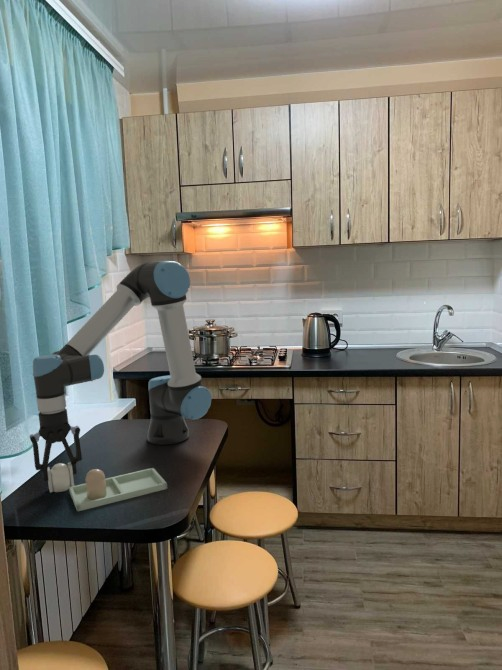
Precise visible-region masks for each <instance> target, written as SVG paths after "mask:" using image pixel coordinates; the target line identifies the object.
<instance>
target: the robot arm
mask: <svg viewBox="0 0 502 670" xmlns="http://www.w3.org/2000/svg"><path fill="white" fill-rule="evenodd" d="M190 285H191V277H190V274H189V272H188V270H187V268H185V266H184V265H182V264H181V263H179V262H177V261H173V260H161V261H147V262H142V263H141V264H139V265H137V266H136V267H135V268H133V270H131V271H130V272H129V273H128V274H127V275H126V276H125V277H124V278H123V279H122V280H121V281H120V282H119V283H118V284H117V285H116V291H115V292H113V294H111V296H110V297H109V298H108V299H107V300H106V301H105V302H104V303H103V305H101V307H100V308H98V310H97V311H96V312H95V313H94V314H93V315H92V316H91V317H89V319H88V320H87V322H85V324H84V325H83V326H82V327H81V328H80V329H79V330H78V331H77V332H76V333H75V334H74V335H73V336H72V337H71V338H70V340H68V342H67V343H65V345H63V346H62V348H61V349H60V350H57V351H53V352H51V353H50V354H44V355H39V356H36V357H34V358H33V360H32V375H33V381H34V387H35V395H36V396H35V397H36V404H37V405H36V406H37V411H38V421H39V422H38V423H39V429H38V432H36V433H34V434H30V435H29V439H30V441H31V444H32V451H33V461H34V467H35V471H41V472H42V478H43V480H44V482H47V483H48V490H49V493H50V494H51V493H53V492H54V491H53V488H52V480H51V469H50V468H51V467H50V466H49V461H50V456H51V448H52V446H53V445H52V444H55V443H61V442H62V445H63V448H64V450H65V452H66V455H67V456H68V459H69V461H70V462H67V466H68V468H69V471H70V480H71V487H72V486H75V482H74V481H75V480H74V475H77V471H78V470H77V463H78V462H81V461H82V460H83V457H82V456H83V455H82V450H81V442H80V440H81V439H80V432H81V428H80V426H79V425H75V426H73V425H72V426H71V424H70V423H69V418H68V408H67V409H66V407H67V400H66V398H67V397H66V391H65V389H66V388H65V387H70V386H72V385H73V386H74V385H78V384H82V383H89V382H93V381H96V380H99V379H101V378H102V377H103V375H104V373H105V367H104V366H105V365H104V361H103V359H102V357H101V356H99V355H98V354H91V353H92V352H93V351H95V349H96V348H97V347H98V346H99V345H100V343H101V342H102V341H103V340H104V339H105V338H106V337H107V336H108V335H109V333H111V331H112V330H113V329H114V328H115V327H116V326H117V325H118V324H119V323H120V322H121V320H123V318H125V316H126V315H127V314H129V312H130V311H131V310H132V308H133V307H135V306H136V307H138V306H140V304H141V303H142V302H143V301H145V300H147V299H148V298H149V300H150V305H151V306H152V307H153V308H154V309H156V311H157V315H158V320H159V325H160V330H161V335H162V339H163V344H164V345H163V346H164V349H165V355H166V360H167V365H168V370H169V375H162V376H161V375H160V376H157V377H153V378H151V379H149V381H148V386H147V387H148V389H147V391H148V399H149V411H150V422H149V426H148V430H147V434H146V435H147V436H146V437H147V442H149V443H150V444H153V445H159V446H160V445H161V446H162V445H165V446H166V445H174V444H179V443H182V442H184V441H186V440H187V439H188V438H189V437H190V429H189V427H188V426H187V423H186V420H198V419H201V418H202V417H204V416H205V415H206V414H207V413H208V411H209V409H210V408H211V403H212V393H211V391H210V390H209V389H208V388H207V387H205V386H204V385H203V380H202V379H203V378H202V376H201V374H199V373H197V372H196V367H195V362H194V357H193V351H192V345H191V340H190V335H189V331H188V325H187V321H186V320H187V319H186V315H185V308H184V304H185V302H186V301H187V299H188V298H187V293H188V292H189V289H190V287H191V286H190ZM90 354H91V355H90ZM185 419H186V420H185ZM70 432H71V434H72V435H73V442H74V449H75V456H74V455H73V452H72V449H71V447H70V446H69V442H68V441H67V438H66V437H67V436H68V435H69V433H70ZM40 437H41V438H42V439H43V440H44V441H45V444H44V450H43V451H44V452H43V458H42V463H40V451H39V444H38V442H39V441H40Z"/></svg>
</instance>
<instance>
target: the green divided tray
mask: <svg viewBox="0 0 502 670" xmlns="http://www.w3.org/2000/svg"><path fill="white" fill-rule="evenodd" d="M105 481H106V491H107V495H106V496H105V497H104V498H100V499H96V500H89V499H88V498H87V491H86V482H85V483H81V484H77V485H76V484H75V485H74V486H72V487H69V489H68V491H69V495H70V497H71V499H72V502H73V505H74V507H75V509H76V512H80V511H85V510H91V509H94V508H97V507H101V506H105V505H109V504H112V503H116V502H120V501H125V500H128V499H132V498H136V497H141V496H144V495H148V494H152V493H157V492H160V491H164V490H168V483H167V481H165V479H164V478H163V477H162V476H161V475H160V473H159V472H158V471H157V470H156V469H155V468H154V467H150V468H146V469H141V470H137V471H133V472H129V473H125V474H120V475H116V476H111V477H107V478H106V477H105Z"/></svg>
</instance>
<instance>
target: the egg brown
mask: <svg viewBox="0 0 502 670" xmlns="http://www.w3.org/2000/svg"><path fill="white" fill-rule="evenodd" d="M105 479H106V476H105V473H104V471H103V470H101V469H98V468H93V469H90V470H89V471H88V472H87V473H86V475H85V480H84V481H85V483H86V491H87V498H88V499H89V500H96V499H100V498H104V497H105V496H106V495H107V491H106V481H105Z"/></svg>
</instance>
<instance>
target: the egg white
mask: <svg viewBox="0 0 502 670" xmlns="http://www.w3.org/2000/svg"><path fill="white" fill-rule="evenodd" d="M50 471H51V480H52V488H53V492H55V493H61V492H66V491H69V487H71V480H70V471H69V468H68V464H65V463H64V462H63V463H62V462H59V463H56V464H54V465H53V466H52V467H51V469H50Z"/></svg>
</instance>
